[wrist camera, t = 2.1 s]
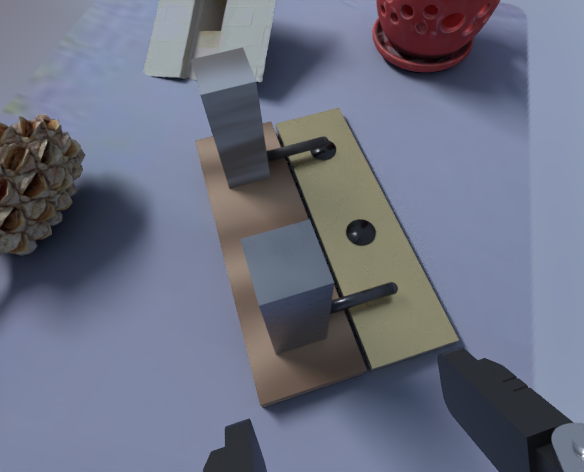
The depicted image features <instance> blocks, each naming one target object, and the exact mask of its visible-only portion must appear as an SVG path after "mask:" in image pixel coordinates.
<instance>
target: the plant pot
mask: <svg viewBox="0 0 584 472" xmlns="http://www.w3.org/2000/svg"><path fill="white" fill-rule="evenodd" d="M499 2H500V0H377V11H378V16H379V18H378V19H377V20H376V22H375V24H374V27H373V41H374V44H375V46H376V48H377V50H378V51H379V53H380V54H381V55H382V56H383V57H384V58H385V59H386V60H387V61H389V62H390V63H392V64H394V65H396V66H398V67H400V68H403V69H406V70H410V71H415V72H436V71H441V70H445V69H447V68H450V67H452V66H454V65H456V64H458V63H459V62H461V61H462V60H463V59H464V58H465V57H466V56H467V55H468V54H469V52H470V51H471V49H472V46H473V41H474V38H473V37H474V36H475V35H476V34H477V33H478V32H479V31H480V30H481V29H482V27H483V26H484V25H485V24H486V22H487V21H488V19H489V18H490V16H491V15H492V13H493V12H494V10H495V9H496V7H497V5H498V4H499Z"/></svg>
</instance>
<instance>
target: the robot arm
mask: <svg viewBox="0 0 584 472" xmlns="http://www.w3.org/2000/svg"><path fill="white" fill-rule="evenodd" d="M438 366H439V373H440V379H441V385H442V391H443V397H444V400H445V403H446V405H447V407H448V409H449V411H450V413H451V414H452V416H453V417H454V418H455V420H456V421H457V422H458V423H459V424H460V426H461V427H462V428H463V429H464V430H465V432H466V433H467V434H468V435H469V436H470V438H471V439H472V440H473V441H474V442H475V444H476V445H477V446H478V447H479V448H480V450H481V451H482V452H483V453H484V454H485V455H486V457H487V458H488V459H489V460H490V461H491V463H492V464H493V465H494V466H495V467H496V469H497V470H498V471H499V472H584V424H583V423H573V422H572V421H571V420H570V419H568V418H567V417H566V416H565V415H563V414H562V413H561V412H560V411H558V410H557V409H556V408H555V407H554V406H552V405H551V404H550V403H549V402H547V401H546V400H545V399H543V398H542V397H541V396H540V395H539V394H537V393H536V392H535V391H534V390H532V389H531V388H528V386H527V385H526V384H525V383H524V382H523V381H521V380H520V379H517V377H516V376H515V375H514V374H513V373H511V372H510V371H509V370H508V369H506V368H505V367H504V366H503V365H500V364H498V363H496V362H493V361H491V360H488V359H486V358H484V359H481V360H477V359H476V358H474V357H473V356H472V355H471V354H470V353H469V352H468V351H466V350H465V349H464V348H458V349H455V350H452V351H449V352H446V353H443V354H440V355H438ZM203 472H267V470H266V466H265V462H264V458H263V455H262V452H261V449H260V446H259V444H258V441H257V438H256V435H255V432H254V429H253V426H252V423H251V420H250V419H246V420H243V421H240V422H237V423H235V424H232V425H229V426H226V427H225V447H223V448H220V449H217V450H214V451H211V453H210V456H209V458H208V460H207V462H206V464H205V466H204V469H203Z"/></svg>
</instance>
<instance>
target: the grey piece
mask: <svg viewBox="0 0 584 472" xmlns="http://www.w3.org/2000/svg"><path fill="white" fill-rule="evenodd" d="M275 4H276V0H159V4H158V10H157V14H156V18H155V23H154V27H153V31H152V35H151V36H152V37H151V39H150V44H149V50H148V52H147V57H146V61H145V63H146V64H145V66H144V70H143V73H145V74H147V75H148V76H155V77H156V76H157V77H158V76H159V77H161V76H162V77H166V76H168V77H178V78H182V79H186V78H190V79H192V80H194V79H195V80H196V77H195V73H194V70H193V66H192V62H191V59H195V58H199V57H203V56H208V55H212V54H216V53H221V52H225V51H229V50H234V49H238V48H242V47H243V49H244V51H245V54H246V57H247V59H248V62H249V64H250V67H251V69H252V72H253V75H254V77H255V80H256V82H262V80H263V77H262V75H263V72H264V69H265V68H264V67H265V66H264V65H265V59H266V56H267V50H268V43H269V41H270V39H269V38H270V34H271V33H270V31H271V28H272V21H273V15H274V14H273V13H274V9H275V8H274V7H275Z"/></svg>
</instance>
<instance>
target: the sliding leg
mask: <svg viewBox="0 0 584 472" xmlns="http://www.w3.org/2000/svg"><path fill="white" fill-rule="evenodd" d="M240 240H241V243H242V247H243V251H244V254H245V258H246V261H247V265H248V269H249V272H250V276H251V280H252V283H253V287H254V290H255V294H256V298H257V301H258V305H259V308H260V311H261V314H262V316H263V319H264V322H265V325H266V328H267V331H268V334H269V336H270V339H271V342H272V345H273V348H274V351H275V353H276V354H280V353H283V352H286V351H289V350H292V349H295V348H298V347H301V346H304V345H308V344H311V343H314V342H317V341H320V340H323V339H326V338H327V334H328V327H329V319H330V314H334V313H337V312H340V311H343V310H346V309H350V308H353V307H356V306H359V305H362V304H365V303H369V302H372V301H375V300H378V299H381V298H385V297H388V296H391V295H394V294H396V293H397V291H398V286H397V284H396V283H394V282H389V283H385V284H382V285H379V286H376V287H372V288H369V289H366V290H363V291H360V292H356V293H353V294H350V295H347V296H343V297H340V298H337V299H334V300H332V296H333V289H334V281H333V278H332V275H331V273H330V270H329V268H328V265H327V263H326V260H325V257H324V255H323V252H322V250H321V247H320V245H319V242H318V239H317V237H316V234H315V232H314V229H313V227H312V224H311V221H310V219H309V220H306V221H302V222H299V223H295V224H292V225H288V226H285V227H281V228H278V229H274V230H271V231H267V232H264V233H260V234H257V235H253V236H250V237H246V238H243V239H240Z"/></svg>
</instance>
